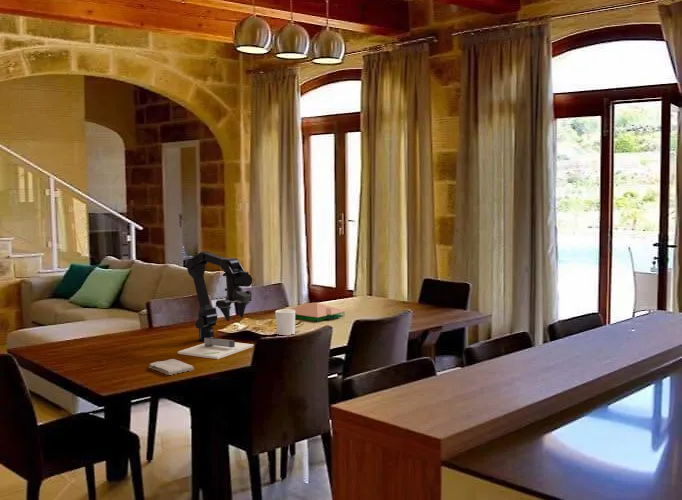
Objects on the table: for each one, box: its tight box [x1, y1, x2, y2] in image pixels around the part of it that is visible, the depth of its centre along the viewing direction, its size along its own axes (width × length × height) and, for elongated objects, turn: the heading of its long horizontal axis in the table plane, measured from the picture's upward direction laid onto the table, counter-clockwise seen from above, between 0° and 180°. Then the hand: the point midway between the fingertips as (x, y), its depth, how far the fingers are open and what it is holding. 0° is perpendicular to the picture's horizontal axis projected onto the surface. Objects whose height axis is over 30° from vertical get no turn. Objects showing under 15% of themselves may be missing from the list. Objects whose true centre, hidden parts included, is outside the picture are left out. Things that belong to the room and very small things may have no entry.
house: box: [290, 302, 347, 322], centre depth 399 cm, size 23×33×8 cm
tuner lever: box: [203, 337, 235, 348], centre depth 328 cm, size 16×4×4 cm, turn 59°
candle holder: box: [275, 308, 296, 335], centre depth 354 cm, size 10×10×12 cm
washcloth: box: [148, 358, 195, 376], centre depth 296 cm, size 12×18×3 cm, turn 43°
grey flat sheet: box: [177, 341, 255, 360], centre depth 327 cm, size 23×25×1 cm
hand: (235, 319), depth 335 cm, fingers open, 9 cm apart
